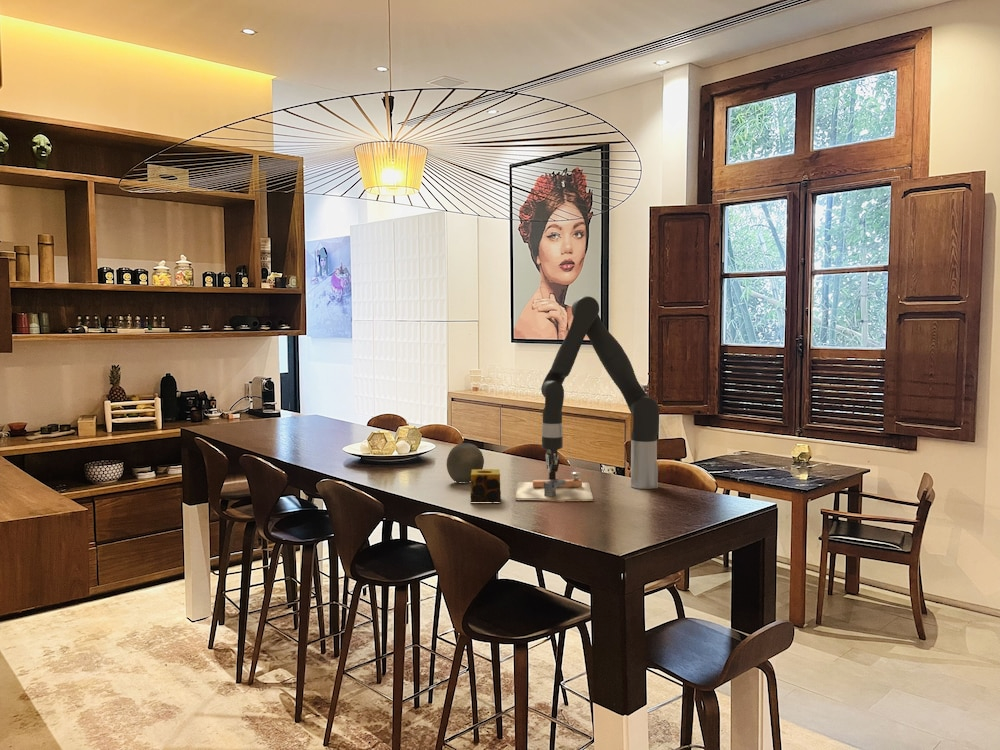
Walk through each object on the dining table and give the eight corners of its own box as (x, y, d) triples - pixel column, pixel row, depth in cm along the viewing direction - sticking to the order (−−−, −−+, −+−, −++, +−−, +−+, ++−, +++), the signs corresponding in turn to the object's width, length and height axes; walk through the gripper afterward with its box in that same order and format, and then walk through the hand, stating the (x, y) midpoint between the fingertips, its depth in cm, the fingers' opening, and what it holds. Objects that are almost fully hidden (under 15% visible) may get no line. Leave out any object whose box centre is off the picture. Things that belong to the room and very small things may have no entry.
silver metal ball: (580, 479, 277) (580, 471, 277) (580, 480, 273) (580, 473, 273) (570, 479, 277) (570, 471, 277) (571, 480, 274) (571, 473, 273)
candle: (500, 504, 252) (500, 474, 252) (470, 504, 252) (470, 474, 252) (500, 497, 262) (500, 468, 262) (471, 497, 262) (471, 469, 262)
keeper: (555, 491, 267) (555, 478, 267) (565, 492, 265) (565, 480, 264) (543, 496, 260) (543, 482, 260) (553, 497, 258) (553, 484, 257)
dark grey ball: (444, 486, 281) (444, 446, 280) (448, 479, 295) (448, 441, 294) (483, 487, 280) (483, 446, 280) (485, 479, 295) (484, 441, 294)
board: (588, 485, 283) (588, 482, 283) (593, 501, 255) (593, 498, 255) (518, 484, 285) (518, 482, 285) (515, 500, 257) (515, 498, 257)
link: (580, 484, 278) (580, 478, 278) (582, 486, 273) (582, 481, 273) (532, 485, 277) (532, 479, 276) (533, 487, 272) (533, 481, 272)
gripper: (566, 437, 271) (566, 485, 272) (558, 432, 284) (557, 478, 285) (546, 438, 270) (546, 486, 271) (538, 433, 283) (538, 479, 284)
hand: (552, 482), depth 278 cm, fingers closed
